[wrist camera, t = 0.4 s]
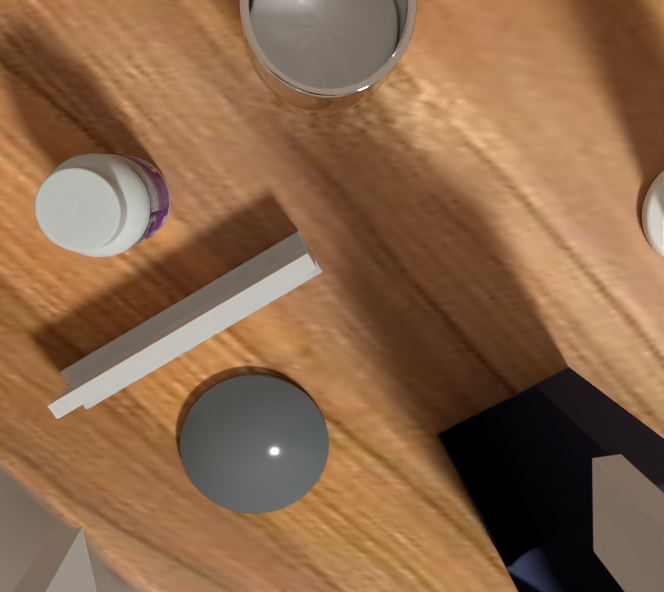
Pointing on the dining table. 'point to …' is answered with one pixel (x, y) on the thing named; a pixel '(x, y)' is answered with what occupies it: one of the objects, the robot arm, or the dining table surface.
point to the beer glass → (325, 49)
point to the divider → (186, 324)
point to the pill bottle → (102, 203)
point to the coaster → (254, 443)
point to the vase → (548, 477)
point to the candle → (654, 214)
